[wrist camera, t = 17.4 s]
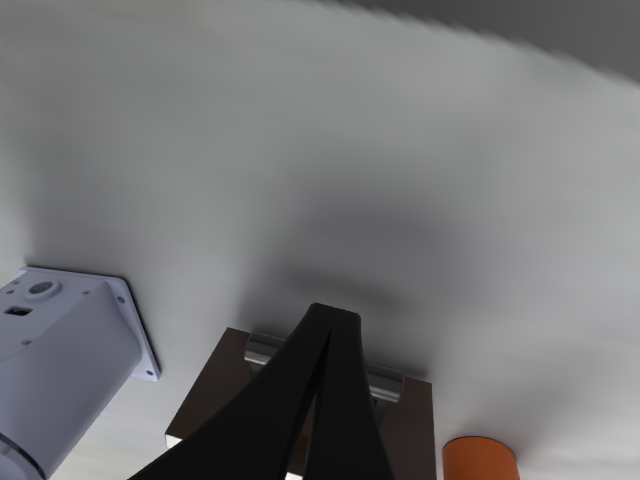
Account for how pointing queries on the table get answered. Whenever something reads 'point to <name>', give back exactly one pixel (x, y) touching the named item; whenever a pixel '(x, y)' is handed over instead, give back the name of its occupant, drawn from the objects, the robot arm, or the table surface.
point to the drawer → (385, 386)
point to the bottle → (478, 460)
